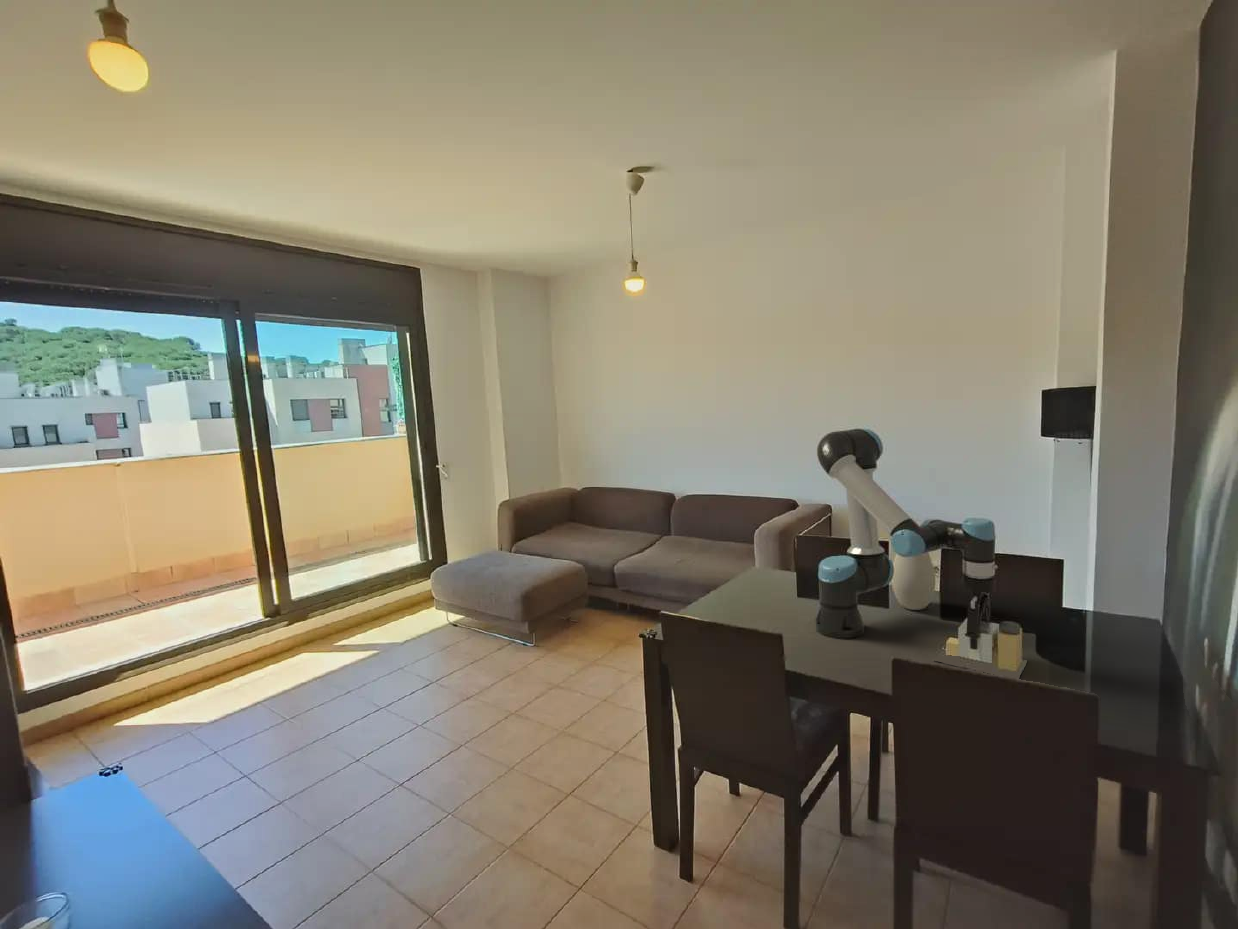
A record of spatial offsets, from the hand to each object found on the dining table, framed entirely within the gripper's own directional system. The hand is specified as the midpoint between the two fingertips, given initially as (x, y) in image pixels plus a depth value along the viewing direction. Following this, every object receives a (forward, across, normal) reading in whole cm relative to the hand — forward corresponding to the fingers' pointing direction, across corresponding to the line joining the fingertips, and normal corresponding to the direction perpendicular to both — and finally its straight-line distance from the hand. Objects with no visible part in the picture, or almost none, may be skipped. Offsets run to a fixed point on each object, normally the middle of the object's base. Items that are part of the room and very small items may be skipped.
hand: (978, 652), depth 160 cm
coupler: (+2, 0, 0) cm, 2 cm away
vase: (+3, +32, +27) cm, 42 cm away
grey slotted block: (0, 0, 0) cm, 0 cm away
